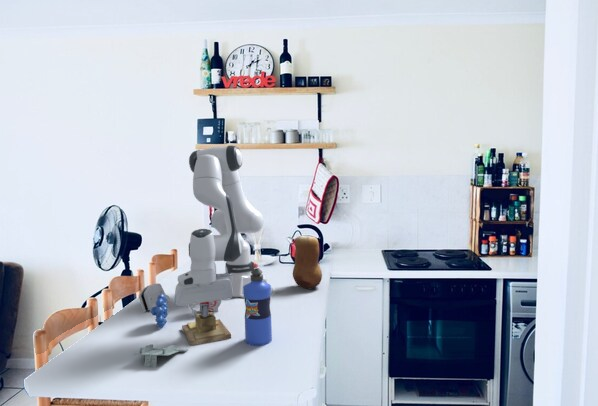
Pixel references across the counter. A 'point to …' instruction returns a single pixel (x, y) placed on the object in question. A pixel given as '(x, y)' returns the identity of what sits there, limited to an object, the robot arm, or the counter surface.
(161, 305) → the grapes
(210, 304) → the soda can
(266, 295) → the water bottle
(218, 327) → the jig
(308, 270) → the butternut squash
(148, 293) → the grey rounded box
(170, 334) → the counter surface
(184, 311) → the counter surface
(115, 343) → the counter surface
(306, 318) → the counter surface
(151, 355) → the metal bracket
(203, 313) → the hinge pin
